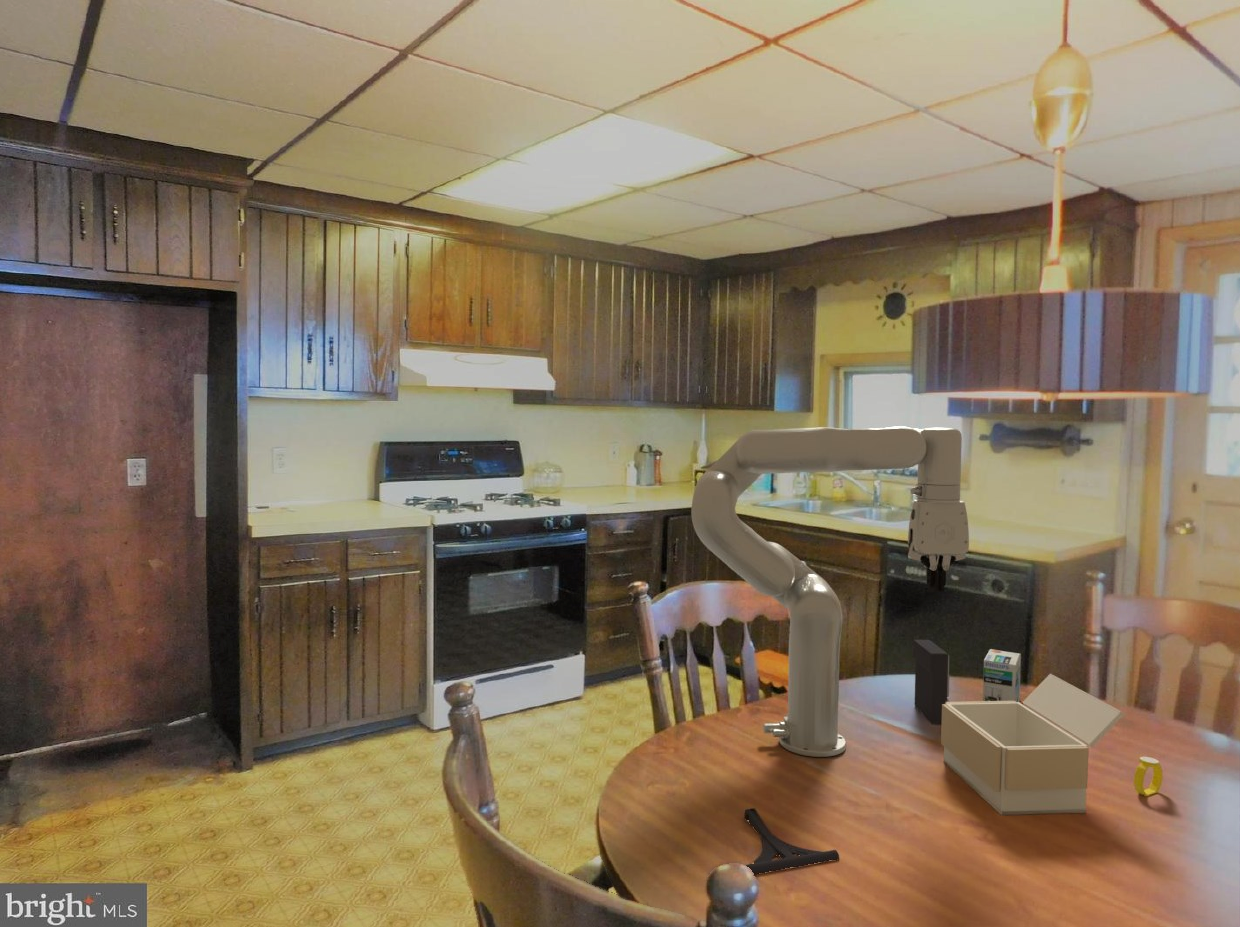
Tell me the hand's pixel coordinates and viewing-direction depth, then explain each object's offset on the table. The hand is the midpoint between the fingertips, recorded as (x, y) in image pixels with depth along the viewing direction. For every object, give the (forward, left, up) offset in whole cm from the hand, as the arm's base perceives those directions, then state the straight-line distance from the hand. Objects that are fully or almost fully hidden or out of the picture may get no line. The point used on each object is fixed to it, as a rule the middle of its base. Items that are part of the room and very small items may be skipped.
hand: (935, 589), depth 152 cm
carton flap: (+17, -15, -17) cm, 29 cm away
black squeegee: (-39, -31, -32) cm, 59 cm away
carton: (+7, -15, -31) cm, 35 cm away
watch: (+29, -19, -31) cm, 47 cm away
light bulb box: (+27, +24, -31) cm, 48 cm away
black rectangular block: (+8, +18, -31) cm, 37 cm away
